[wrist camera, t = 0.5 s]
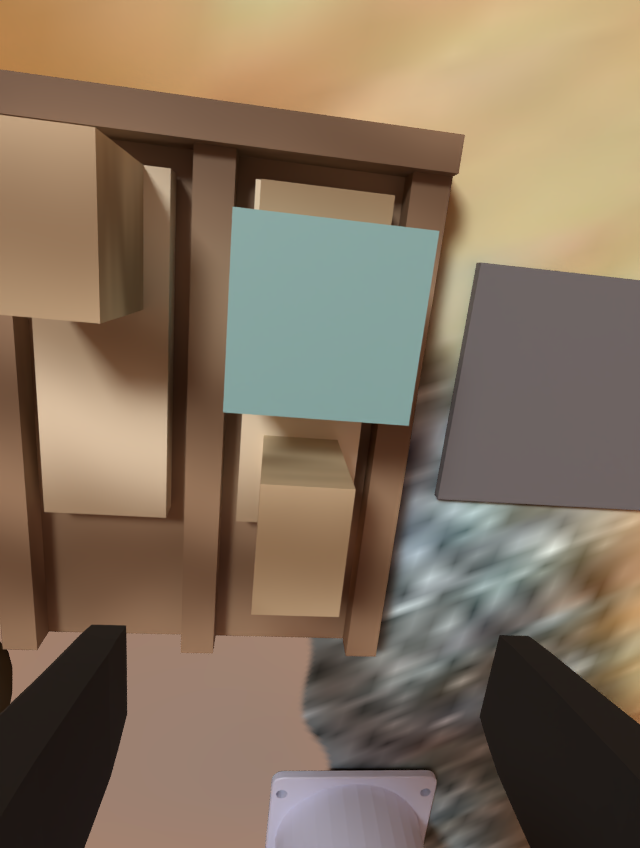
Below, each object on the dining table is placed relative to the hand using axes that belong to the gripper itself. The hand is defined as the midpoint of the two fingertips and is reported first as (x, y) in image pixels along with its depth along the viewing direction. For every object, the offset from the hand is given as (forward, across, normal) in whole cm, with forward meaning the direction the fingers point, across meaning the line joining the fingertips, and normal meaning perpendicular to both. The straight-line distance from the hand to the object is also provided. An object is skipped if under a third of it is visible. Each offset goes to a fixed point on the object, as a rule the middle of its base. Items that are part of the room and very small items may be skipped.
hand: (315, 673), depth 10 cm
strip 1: (+9, +6, -4) cm, 12 cm away
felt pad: (+10, -10, -4) cm, 15 cm away
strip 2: (+9, 0, -4) cm, 10 cm away
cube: (+8, 0, -6) cm, 10 cm away
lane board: (+10, +3, -2) cm, 11 cm away
